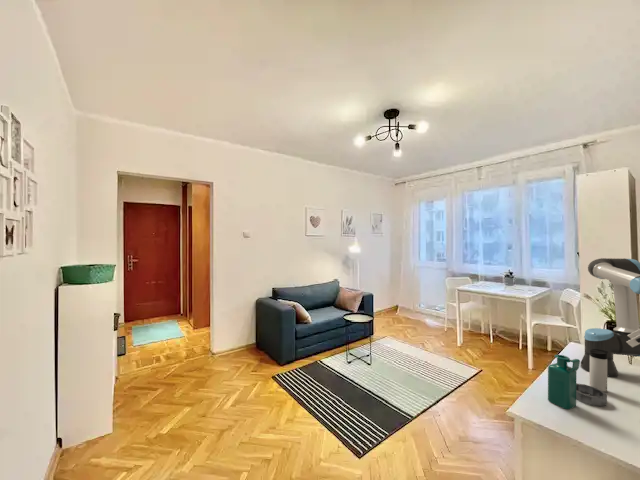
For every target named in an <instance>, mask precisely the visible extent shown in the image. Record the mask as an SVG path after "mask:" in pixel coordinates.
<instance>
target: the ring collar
mask: <svg viewBox="0 0 640 480" xmlns="http://www.w3.org/2000/svg"><path fill="white" fill-rule="evenodd" d="M576 401H578V402H580V403H581V404H585V405H588V406H591V407H598V408H604V407H607V405H608V394H607V393H604V392H603V391H601V390H599V389H597V388H595V387H592V386H590V385H587V384H582V383H577V382H576Z"/></svg>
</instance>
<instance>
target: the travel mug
mask: <svg viewBox="0 0 640 480" xmlns="http://www.w3.org/2000/svg"><path fill="white" fill-rule="evenodd" d="M607 353H608V352H607V351H605V350H599V349H591V350H590V372H589V386H592V387H595V388H597V389H599V390H601V391H603V392H604V393H606V394H607V393H608V376H607Z"/></svg>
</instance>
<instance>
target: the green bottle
mask: <svg viewBox="0 0 640 480" xmlns="http://www.w3.org/2000/svg"><path fill="white" fill-rule="evenodd" d="M554 357H555V358H556V362H555V363H552V364H549V365H548V366H547V400H548V402H550V403H551V404H553V405H556V406H557V405H558V406H557V407H560V408H561V409H564V410H570V409H574V408H576V407H577V400H576V383H577V371H578V370H579V368H580V365H581V360H580V359H578V358H574V359H570V358H569V356H566V355H563V354H554ZM568 363H572V366H569V365H568Z"/></svg>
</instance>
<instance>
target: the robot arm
mask: <svg viewBox="0 0 640 480" xmlns="http://www.w3.org/2000/svg"><path fill="white" fill-rule="evenodd" d="M587 271H588V273H589V274H590V275H591V276H592V277H594V278H596V279H600V280H608V281H609V283H611V284H612V287H613V296H614V309H615V312H614V313H615V322H616V327H614V328H613V330H610V329H607V328H600V327H599V328H598V327H597V328H596V327H595V328H588V329H587V330H585V331H584V337H583V338H584V355H583V356H582V358H581V360H580V368H581V369H583V370H585V371H586V372H588V373H590V350H591V349H599V350H605V351H607V352H608V353H607V378H608V377H610V378H611V377H612V378H614V377H616V378H617V377H618V375H619V371H618V369H617V365H616V364H615V360H614V355H620V356H630V357H640V323H639V311H638V310H639V309H638V302H637V301H638V298H637V294H638V295H640V261H639V260H636V259H634V258H611V257H610V258H606V257H605V258H603V257H601V258H597V259H594V260H592V261H591V262H589V264H588V265H587Z"/></svg>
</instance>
